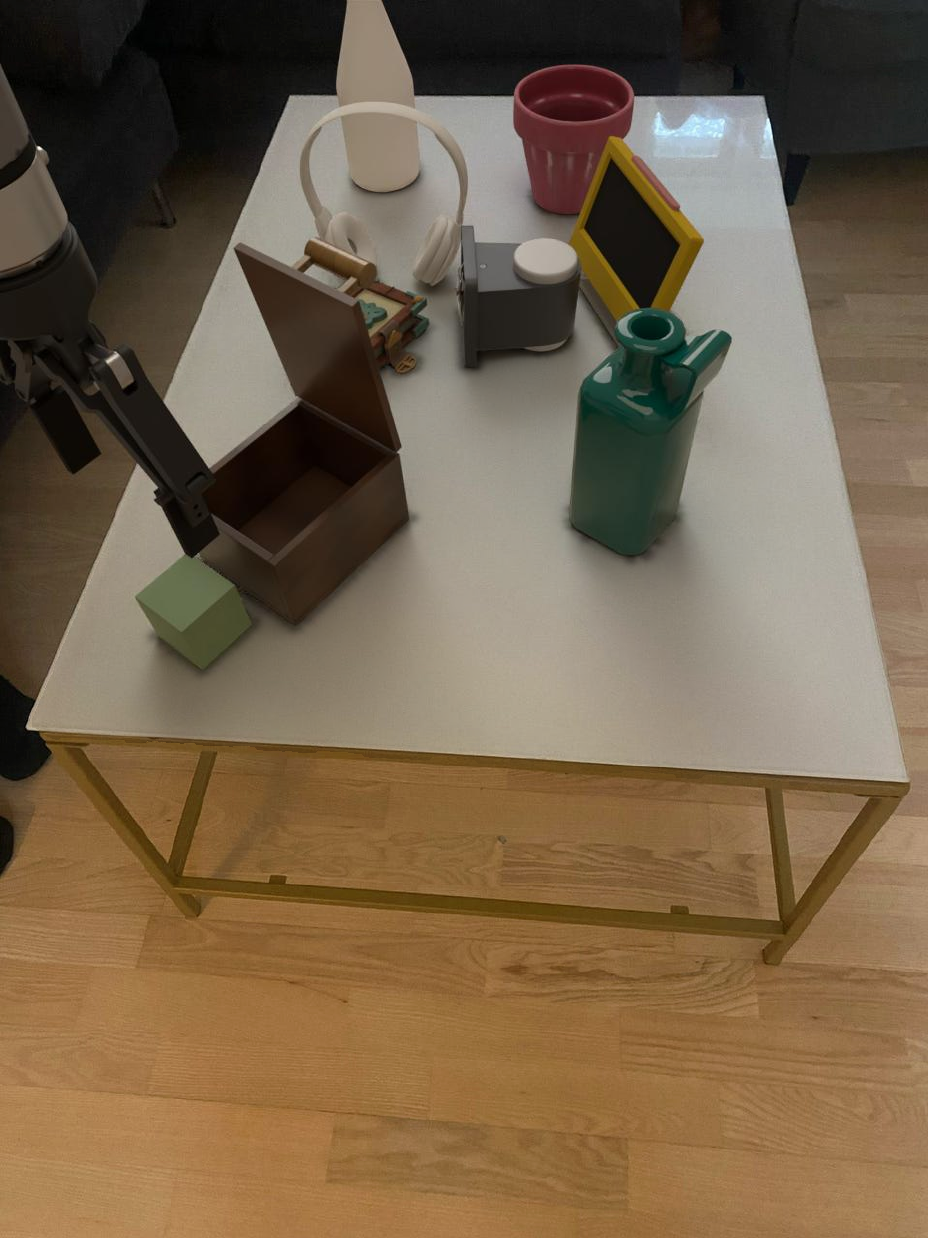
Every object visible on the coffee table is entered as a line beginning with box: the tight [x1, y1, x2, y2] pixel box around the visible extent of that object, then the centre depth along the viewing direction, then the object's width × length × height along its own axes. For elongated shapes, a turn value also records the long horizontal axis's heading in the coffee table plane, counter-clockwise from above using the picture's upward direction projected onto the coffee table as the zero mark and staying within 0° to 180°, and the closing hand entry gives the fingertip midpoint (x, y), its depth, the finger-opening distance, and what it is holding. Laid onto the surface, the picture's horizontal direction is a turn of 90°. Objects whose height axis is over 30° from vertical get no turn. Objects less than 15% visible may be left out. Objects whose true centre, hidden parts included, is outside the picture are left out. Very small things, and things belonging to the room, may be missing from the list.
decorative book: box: [350, 277, 430, 374], centre depth 98 cm, size 13×18×5 cm
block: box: [134, 553, 253, 671], centre depth 78 cm, size 6×6×6 cm
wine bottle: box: [335, 0, 421, 193], centre depth 109 cm, size 10×10×30 cm
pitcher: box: [568, 307, 733, 556], centre depth 76 cm, size 10×8×22 cm
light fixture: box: [454, 225, 582, 367], centre depth 97 cm, size 11×13×11 cm
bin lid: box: [232, 236, 403, 453], centre depth 75 cm, size 16×13×6 cm
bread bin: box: [198, 397, 410, 626], centre depth 82 cm, size 16×13×9 cm
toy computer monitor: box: [567, 136, 705, 348], centre depth 96 cm, size 20×8×16 cm, turn 18°
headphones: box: [299, 102, 469, 287], centre depth 100 cm, size 7×18×20 cm, turn 82°
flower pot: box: [512, 64, 635, 215], centre depth 111 cm, size 14×14×13 cm
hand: (141, 501), depth 67 cm, fingers open, 13 cm apart
